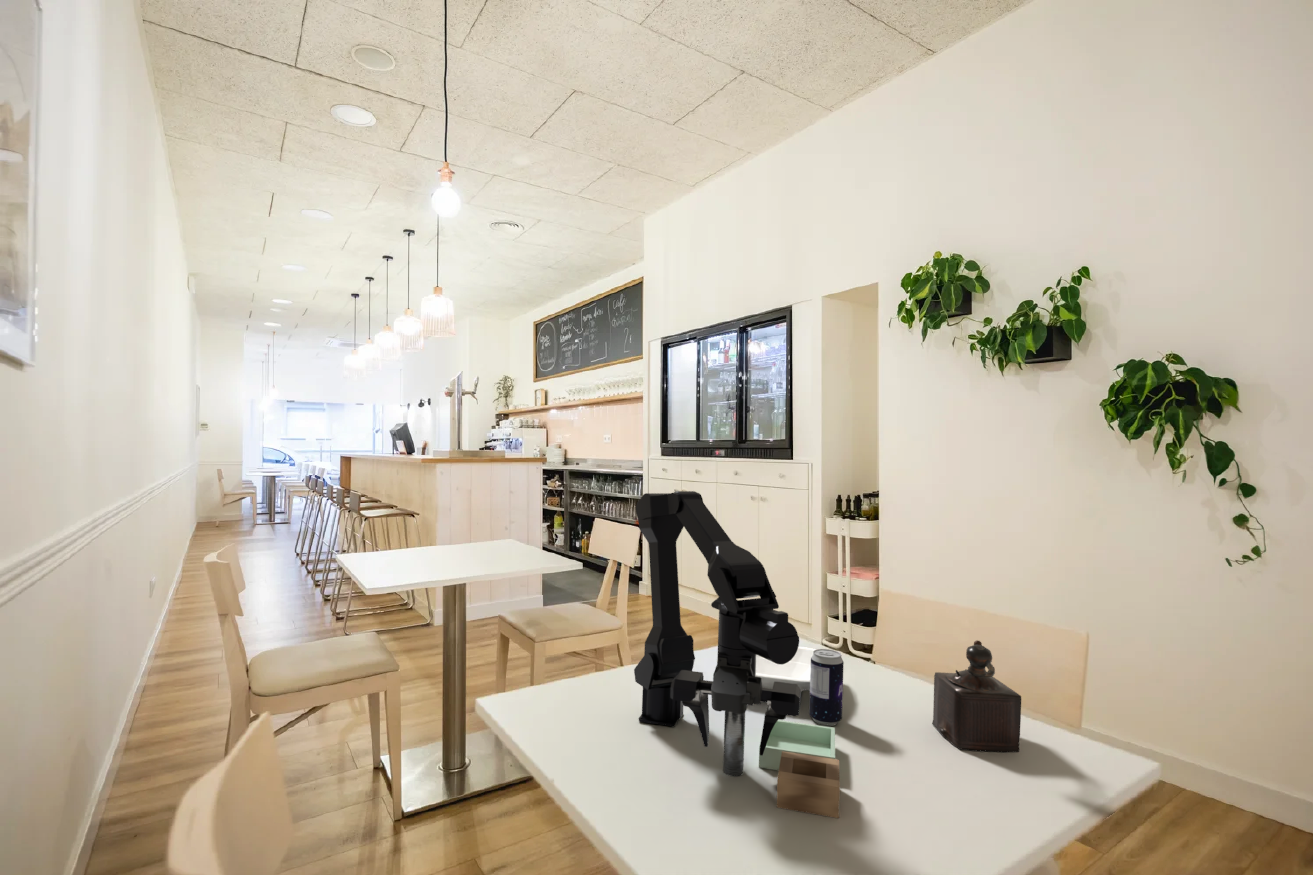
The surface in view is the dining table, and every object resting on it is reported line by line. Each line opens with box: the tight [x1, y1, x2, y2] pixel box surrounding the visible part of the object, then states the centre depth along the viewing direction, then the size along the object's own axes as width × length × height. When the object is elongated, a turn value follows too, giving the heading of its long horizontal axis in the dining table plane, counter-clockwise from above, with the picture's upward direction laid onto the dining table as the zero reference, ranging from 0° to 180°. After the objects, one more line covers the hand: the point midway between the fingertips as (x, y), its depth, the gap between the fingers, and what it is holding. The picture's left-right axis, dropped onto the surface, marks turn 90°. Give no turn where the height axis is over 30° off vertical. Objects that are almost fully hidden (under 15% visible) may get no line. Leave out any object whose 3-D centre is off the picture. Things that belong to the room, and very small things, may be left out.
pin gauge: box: [722, 711, 746, 777], centre depth 97 cm, size 3×3×10 cm
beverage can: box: [808, 648, 845, 727], centre depth 116 cm, size 6×6×12 cm
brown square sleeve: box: [776, 751, 841, 819], centre depth 90 cm, size 8×8×4 cm
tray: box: [758, 719, 836, 771], centre depth 102 cm, size 11×11×3 cm
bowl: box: [756, 646, 817, 693], centre depth 132 cm, size 22×23×6 cm
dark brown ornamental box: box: [931, 639, 1022, 753], centre depth 109 cm, size 16×11×18 cm
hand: (733, 749), depth 96 cm, fingers open, 8 cm apart
